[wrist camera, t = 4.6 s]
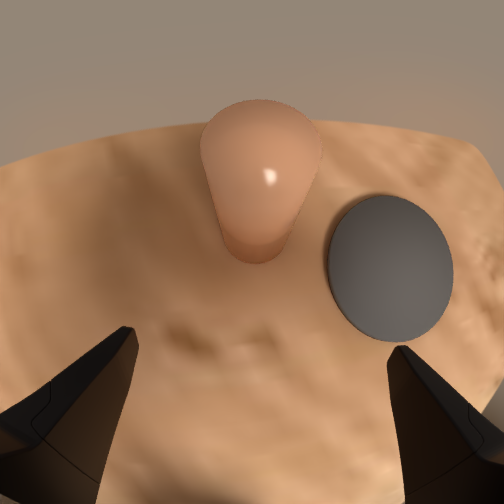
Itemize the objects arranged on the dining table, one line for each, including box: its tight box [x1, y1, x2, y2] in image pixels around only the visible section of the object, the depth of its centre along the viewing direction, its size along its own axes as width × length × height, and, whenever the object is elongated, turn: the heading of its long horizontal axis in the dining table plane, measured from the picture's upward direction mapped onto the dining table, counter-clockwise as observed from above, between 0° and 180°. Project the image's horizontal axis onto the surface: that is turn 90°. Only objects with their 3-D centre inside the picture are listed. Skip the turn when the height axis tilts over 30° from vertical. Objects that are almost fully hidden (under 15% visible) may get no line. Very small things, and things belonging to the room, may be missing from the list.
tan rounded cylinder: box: [200, 100, 323, 264], centre depth 17 cm, size 5×5×12 cm
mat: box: [327, 196, 453, 342], centre depth 23 cm, size 13×13×1 cm
